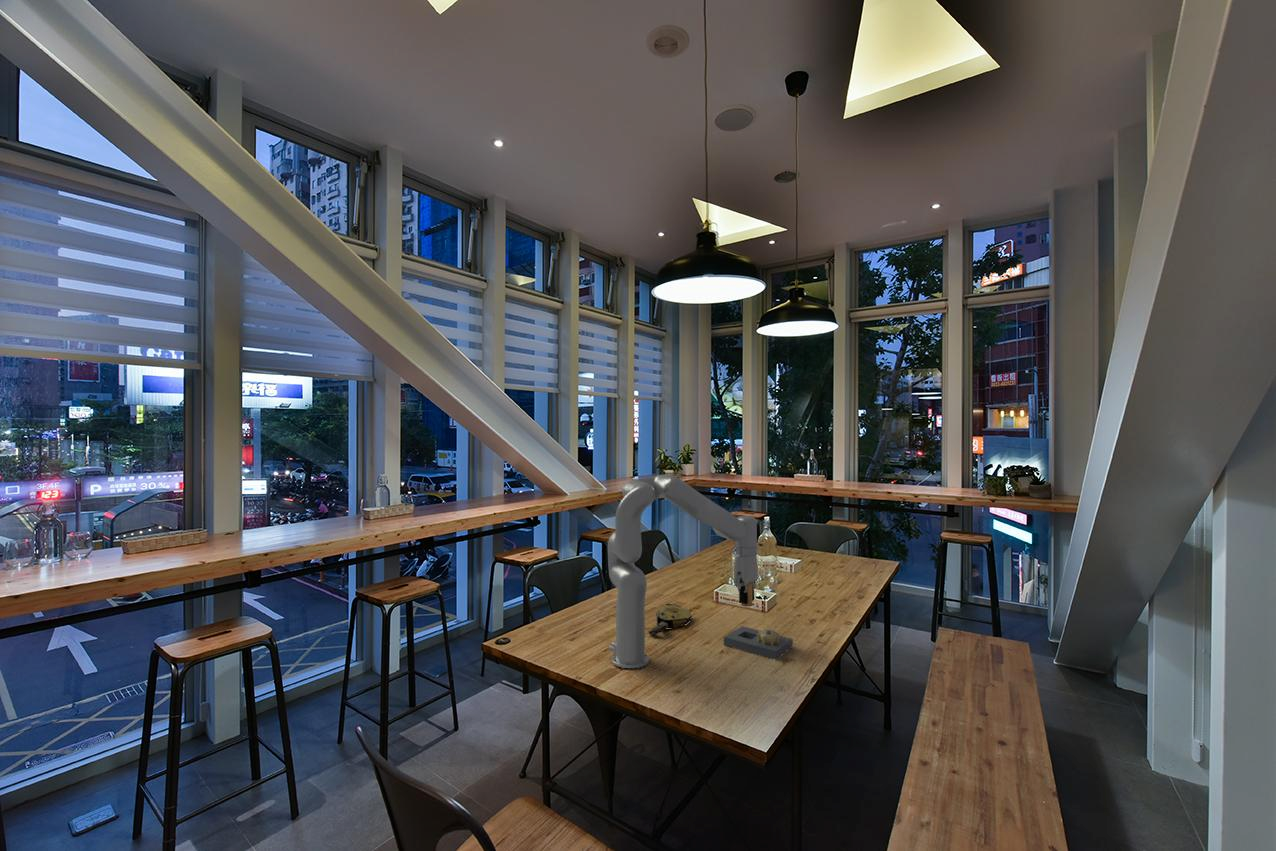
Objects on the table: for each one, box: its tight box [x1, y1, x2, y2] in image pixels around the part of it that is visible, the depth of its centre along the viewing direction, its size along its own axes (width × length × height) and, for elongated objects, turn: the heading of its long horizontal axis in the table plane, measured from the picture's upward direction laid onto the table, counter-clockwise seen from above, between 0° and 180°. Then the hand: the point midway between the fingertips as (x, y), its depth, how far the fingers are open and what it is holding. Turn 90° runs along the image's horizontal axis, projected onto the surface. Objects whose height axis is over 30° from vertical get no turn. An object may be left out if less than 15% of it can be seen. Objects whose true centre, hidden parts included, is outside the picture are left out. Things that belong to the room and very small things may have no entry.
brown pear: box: [740, 582, 754, 608], centre depth 194 cm, size 4×4×8 cm
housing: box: [723, 626, 794, 661], centre depth 192 cm, size 20×14×6 cm
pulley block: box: [648, 603, 695, 636], centre depth 213 cm, size 14×6×30 cm
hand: (746, 601), depth 194 cm, fingers closed on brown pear, 4 cm apart
